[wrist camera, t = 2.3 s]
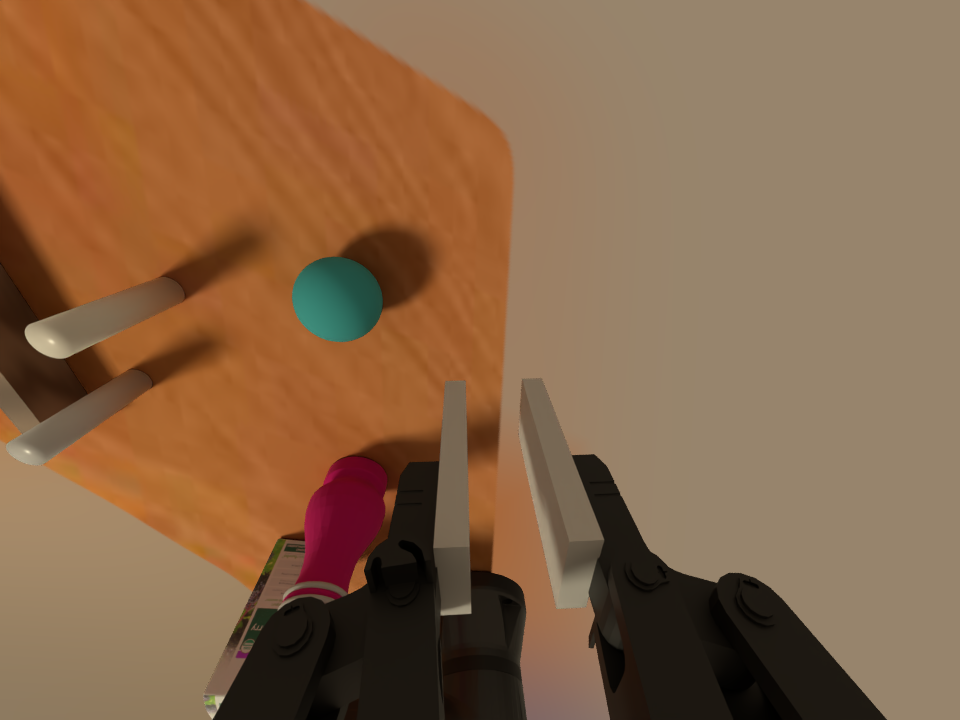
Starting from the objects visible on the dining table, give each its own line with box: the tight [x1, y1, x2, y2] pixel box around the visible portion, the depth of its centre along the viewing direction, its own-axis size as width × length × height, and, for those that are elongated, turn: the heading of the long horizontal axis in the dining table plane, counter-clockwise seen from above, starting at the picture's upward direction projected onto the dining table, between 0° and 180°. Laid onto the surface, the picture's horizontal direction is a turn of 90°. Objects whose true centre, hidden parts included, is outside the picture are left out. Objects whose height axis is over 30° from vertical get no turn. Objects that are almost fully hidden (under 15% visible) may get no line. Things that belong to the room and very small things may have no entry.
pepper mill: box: [277, 456, 387, 611], centre depth 29 cm, size 7×7×20 cm
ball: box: [292, 257, 383, 342], centre depth 25 cm, size 6×6×6 cm
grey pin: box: [6, 369, 152, 465], centre depth 27 cm, size 2×2×9 cm
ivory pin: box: [25, 277, 185, 359], centre depth 23 cm, size 2×2×9 cm
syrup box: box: [203, 538, 305, 719], centre depth 37 cm, size 6×6×14 cm
